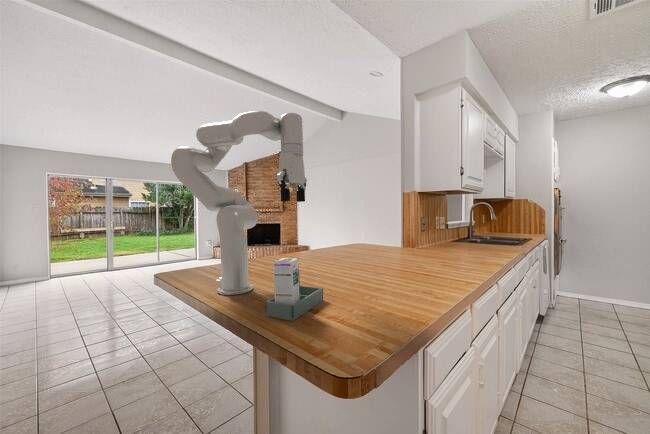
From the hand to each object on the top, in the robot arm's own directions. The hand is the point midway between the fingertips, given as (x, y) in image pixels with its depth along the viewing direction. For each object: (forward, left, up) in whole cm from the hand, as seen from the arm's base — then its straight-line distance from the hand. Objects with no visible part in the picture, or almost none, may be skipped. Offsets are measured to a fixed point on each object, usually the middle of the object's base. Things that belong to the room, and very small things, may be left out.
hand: (293, 201), depth 96 cm
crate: (+7, -11, -32) cm, 35 cm away
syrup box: (+7, -15, -32) cm, 36 cm away
